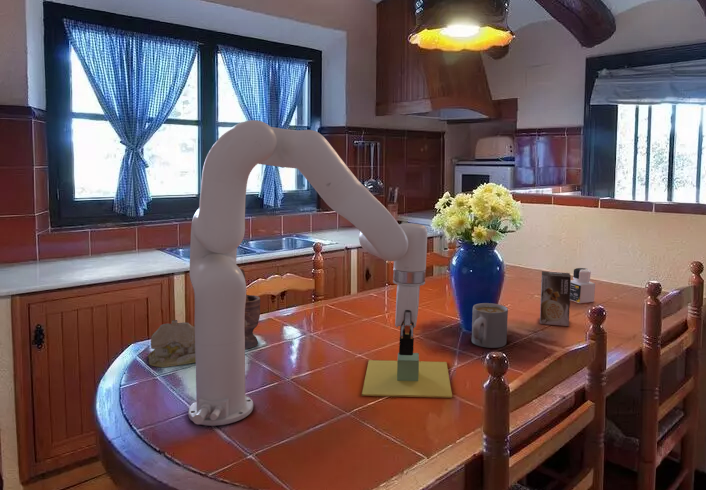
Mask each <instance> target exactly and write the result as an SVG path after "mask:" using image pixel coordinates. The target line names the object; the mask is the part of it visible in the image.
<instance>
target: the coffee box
mask: <svg viewBox="0 0 706 490" xmlns="http://www.w3.org/2000/svg"><path fill="white" fill-rule="evenodd" d="M571 280H572V277H571V273H570V272H558V271H544V270H541V280H540V281H541V284H540V307H539V308H540V309H539V324H540V325H551V326H563V327H569V326H570V309H571V308H570V307H571V300H570V285H571Z"/></svg>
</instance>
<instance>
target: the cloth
mask: <svg viewBox="0 0 706 490" xmlns="http://www.w3.org/2000/svg"><path fill="white" fill-rule="evenodd" d="M367 361H368V362H367V367H366V372H365V377H364V381H363V386H362V391H361V396H363V397H365V396H366V397H400V398H401V397H406V398H407V397H408V398H442V399H443V398H446V399H453V393H452V387H451V381H450V375H449V374H450V373H449V369H448V368H449V367H448V362H447V361H422V360H421V361H420V360H419V378H418V381H397V363H398V360H380V359H377V360H376V359H368V360H367Z"/></svg>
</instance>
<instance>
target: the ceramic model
mask: <svg viewBox="0 0 706 490" xmlns="http://www.w3.org/2000/svg"><path fill="white" fill-rule="evenodd" d="M150 349H151V350H152V351H151V352H149V353H148V354H147V358H148V364H149V365H150V366H152V367H157V368H167V367H168V368H169V367H176V366H183V365H189V364H196V358H195V325H194V326H193V325H191V323H189V322H187V321H185V322H179V320H178V319H175V320H172V321H171V323H163V324H160V326H159V327H158V328H157V329H156V331H154V333H152V335H151V338H150Z"/></svg>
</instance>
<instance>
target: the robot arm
mask: <svg viewBox="0 0 706 490" xmlns="http://www.w3.org/2000/svg"><path fill="white" fill-rule="evenodd" d="M257 165H262V166H263V165H264V166H271V167H277V168H288V169H297V170H298V171H299V172H300V174H301V175H302V176H303V178H305V180H306V181H307V182H308V183H309V184H310V185H311V187H312V188H313V189H314V190H315V191H316V193H317V194H318V195H319V197H320V198H321V199H322V200H323V202H324V203H325V204H326V205H327V206H328V207H329V208H330V209H331V210H333V212H335V213H336V214H338V215H339V216H341V217H343V218H344V219H345V220H347V221H348V222H349V223H351V224H352V225H353V226H354V227H355V228H356V229H357V230H358V231H359V235H358V241H359V244H360V246H361V248H362V249H363V250H364V251H365V252H366V253H368V254H370V255H372V256H374V257H377V258H379V259H381V260H383V261H386V262H393V275H392V277H393V278H392V283H393V284H395V285H397V286H396V294H395V295H396V297H395V316H394V317H395V319H394V320H395V321H394V326H395V327H396V328H399V327H400V329H399V344H398V345H399V346H398V347H399V348H398V353H399V354H400V355H413V353H414V344H415V337H414V329H415V328H416V327H417V323H418V316H419V308H420V307H419V305H420V289H421V287H422V286H424V285H426V273H427V252H428V228H427V227H426V226H425V225H424V224H422V223H421V224H420V223H411V222H409V223H407V222H404V223H400V224H399V223H398V221H397V220H396V218H395V217H394V216H393V214H391V212H390V211H389V210H388V209H387V207H385V205H384V204H383V203H381V201H379V200H378V199H377V197H375V196H374V195H373V193H372V192H371V191H370V190H369V189H368V188H366V186H365V185H364V184H363V183H362V182H360V180H359V179H358V178H357V177H356V176H355V174H354V173H353V172H352V171H351V169H350V168H349V167H348V165H347V164H346V163H345V161H344V160H343V159H342V158H341V156H340V155H339V153H338V152H337V151H336V149H334V147H333V146H332V145H331V143H330V142H329V141H328V140H327V139H326V138H325V136H323V134H321V133H320V132H318V131H316V130H314V129H300V130H299V129H289V128H282V127H274V126H270V125H269V124H268V123H267V122H265V121H262V120H259V119H258V120H257V119H250V120H245V121H241V122H238V123H236V124H235V125H233V126H232V127H231V128H230V129H229V130H228V131H225V132H224V133H223V134H221V136H220V137H219V138H218V139H216V141H215V142H214V143H213V145H212V146H211V148H210V149H209V151H208V153H207V154H206V157H205V160H204V163H203V167H202V172H201V184H200V193H199V207H198V209H197V210H196V211H195V213H194V215H193V217H192V221H191V225H190V241H189V242H190V244H189V245H190V246H189V247H190V248H189V279H190V283H191V286H192V289H193V293H194V327H195V358H196V362H195V394H196V395H195V396H196V398H195V399H196V401H194V402H192V404H191V405H190V406H189V408H188V409H187V412H188V413H187V414H188V415H187V416H188V418H189V420H190V421H192V422H193V423H194V424H195V425H202V426H209V427H210V426H211V427H213V426H224V425H229V424H234V423H236V422H240V421H241V420H243V419H245V418H246V417H248V416H249V415H250V414H251V413H252V412H253V410H254V401H253V399H252V398H251V397H250V396H248V395H246V349H245V303H246V294H247V283H246V277H245V278H244V275H243V273H242V271H241V270H240V269H241V268H240V267H239V265H237V255H238V254H237V253H238V247H240V246H241V244H242V242H243V240H244V237H245V234H246V233H245V232H246V199H247V198H246V196H247V188H248V187H247V186H248V180H249V176H250V174H251V172H252V171H253V169H254V168H255V167H256V166H257Z"/></svg>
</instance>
